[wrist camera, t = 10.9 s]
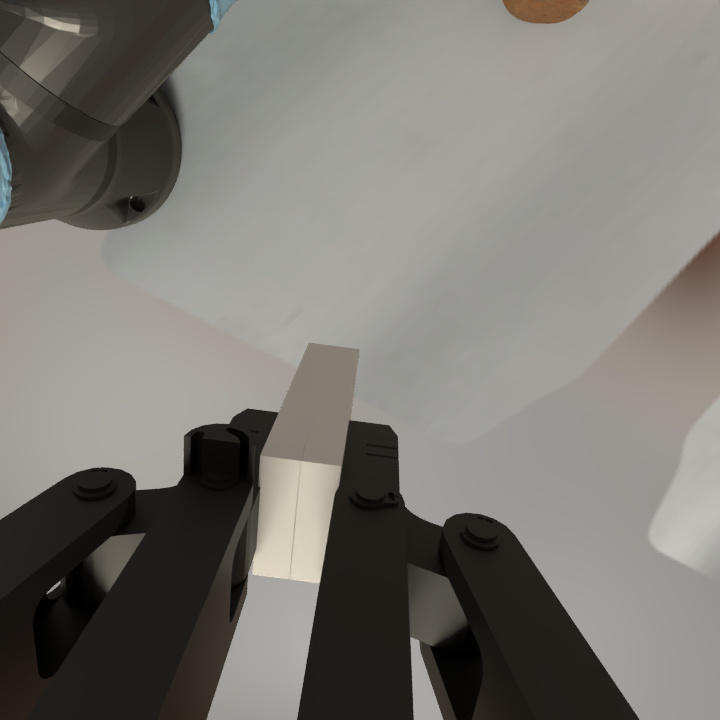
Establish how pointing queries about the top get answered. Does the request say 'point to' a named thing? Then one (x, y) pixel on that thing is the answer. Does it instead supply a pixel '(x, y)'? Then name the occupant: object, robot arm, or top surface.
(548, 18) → the block
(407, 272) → the top surface
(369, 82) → the top surface
